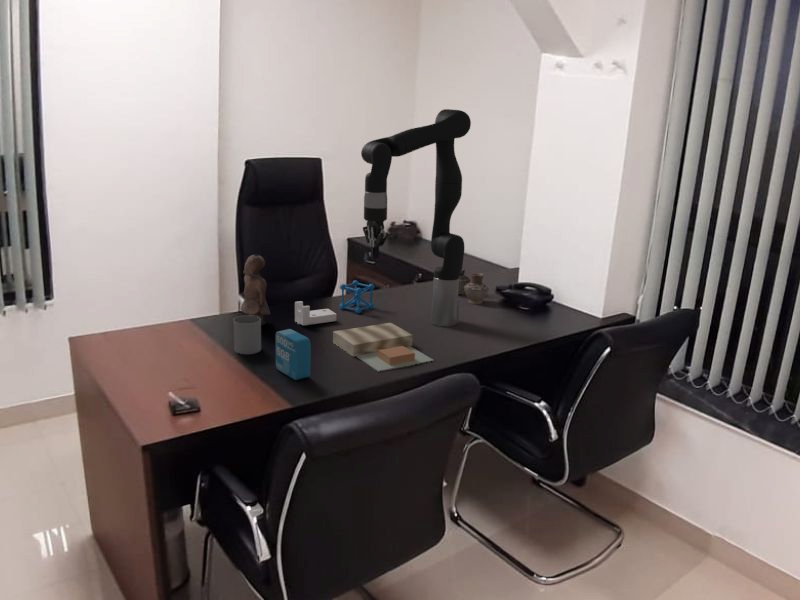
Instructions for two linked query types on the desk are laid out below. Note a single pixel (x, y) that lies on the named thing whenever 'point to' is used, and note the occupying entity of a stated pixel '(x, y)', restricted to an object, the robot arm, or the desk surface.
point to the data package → (293, 354)
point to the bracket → (312, 315)
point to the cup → (247, 334)
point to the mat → (382, 366)
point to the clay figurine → (254, 289)
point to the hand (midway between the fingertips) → (374, 257)
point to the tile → (396, 355)
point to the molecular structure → (356, 296)
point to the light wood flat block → (371, 338)
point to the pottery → (472, 287)
